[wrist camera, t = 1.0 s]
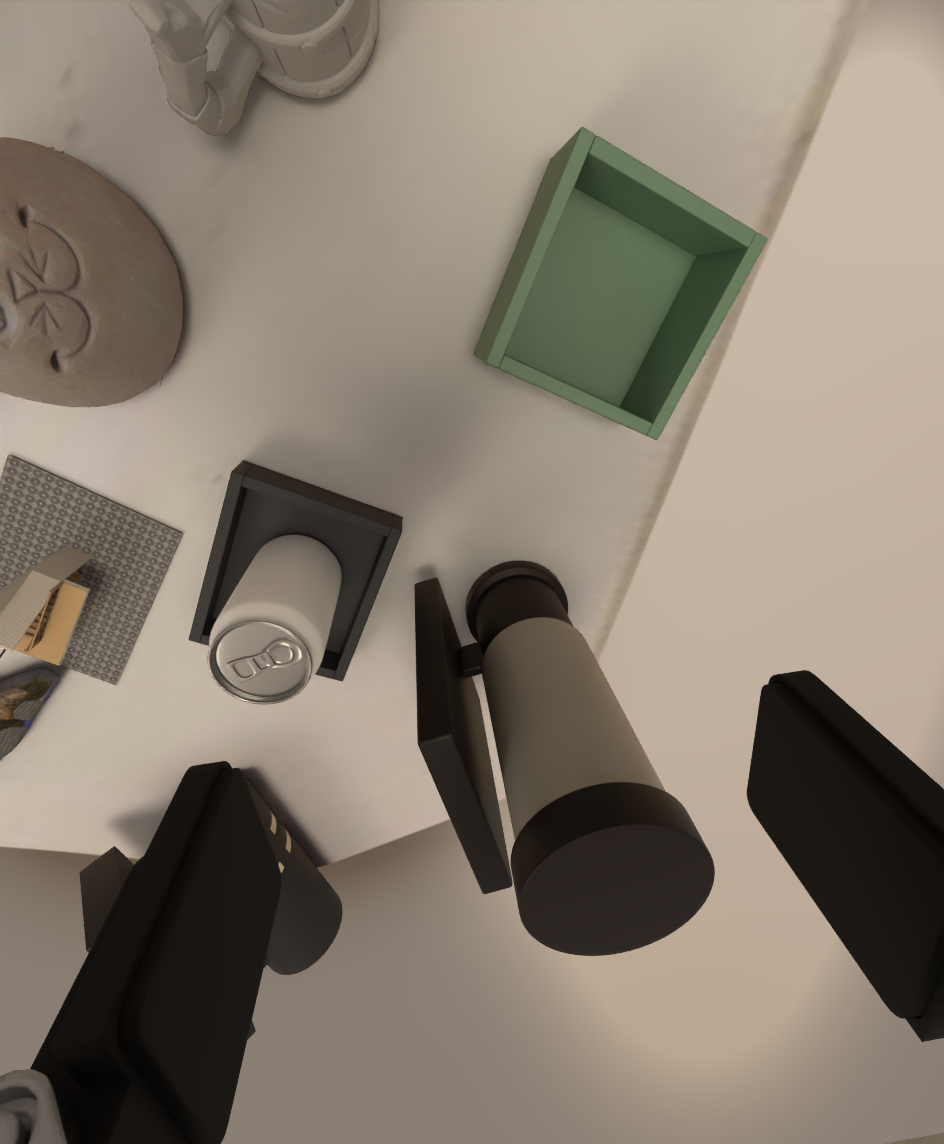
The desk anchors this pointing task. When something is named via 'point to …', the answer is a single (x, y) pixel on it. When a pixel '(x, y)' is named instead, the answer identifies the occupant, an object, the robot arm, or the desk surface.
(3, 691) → the decorative rock
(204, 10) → the mug
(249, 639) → the can
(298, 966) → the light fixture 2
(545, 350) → the bin
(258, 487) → the tray
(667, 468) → the desk surface
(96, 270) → the sculpture
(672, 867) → the light fixture
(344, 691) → the desk surface
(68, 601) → the gray miniature diorama
